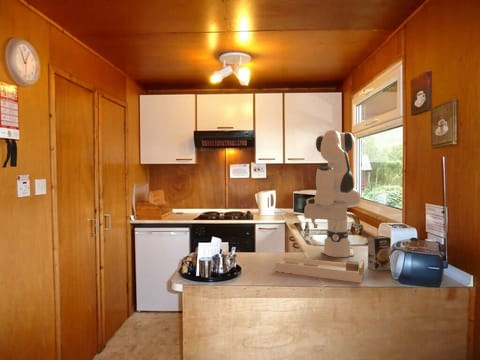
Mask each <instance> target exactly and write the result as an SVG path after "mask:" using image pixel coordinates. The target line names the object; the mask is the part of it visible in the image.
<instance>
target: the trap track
mask: <svg viewBox="0 0 480 360" xmlns="http://www.w3.org/2000/svg"><path fill="white" fill-rule="evenodd" d="M276 271H278V272H277V273H282V272H284V273H283V274H290V273H292V274H291V275H299V276H306V277H313V278H322V279H329V280H339V281H345V282H350V283H351V282H352V283H362V281H363V278H364V276H365V261H364V260H361V262H360V264H359V263H358V272H356V271H347V270H346V262H341V261H339V262H338V261H329V260H320V259H319V260H318V259H310V258H304V257H303V258H302V257H292V256H283V259H282V260H281V261H280V262H275V272H276Z"/></svg>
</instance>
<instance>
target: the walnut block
mask: <svg viewBox="0 0 480 360" xmlns="http://www.w3.org/2000/svg"><path fill="white" fill-rule="evenodd" d="M345 263H346V270H347V271H356V272H358V264H359V261H355V260H346V262H345Z"/></svg>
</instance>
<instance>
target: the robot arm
mask: <svg viewBox="0 0 480 360" xmlns="http://www.w3.org/2000/svg"><path fill="white" fill-rule="evenodd" d="M315 140H316V141H315V148H316V150H317V152H319V153H320V155H321V158H323V159H324V161H327V166H326V165H324V166H319V167H318V168H317V169H316V175H315V177H314V188H316V192H315V195H314V196H313V197H310V198H307V199H306V200H305V201H306V202H305V203H306V205H305V206H304V211H303V217H304V218H305V219H310V220H311V223H312V225H313V229H318V223H316V220H325V221H326V220H327V231H326V238H324V242H323V243H324V245H323V250H321V254H324V255H326V256H329V257H335V258H347V257H354V256H355V253H354V249H353V248H352V246H351V241H350V239H349V231H348V211H347V210H348V208H354V207H357V206H358V205H359V204H360V202H361V199H362V197H361V194H360V192H359V190H357V189H356V188H355V178H354V176H353V172H352V168H351V163H350V160H349V156H348V153H349V152H351V151H352V149H353V148H354V146H355V138H354V135H353V134H352V132H338V131H336V130H333V129H331V130H327V131H326V132H325V133H324V134H322V135H319V136H317V138H316V139H315Z"/></svg>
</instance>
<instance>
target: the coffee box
mask: <svg viewBox="0 0 480 360" xmlns="http://www.w3.org/2000/svg"><path fill="white" fill-rule="evenodd" d="M367 239H368V241H367V268H368V269H370V270H373V271H375V272H377V271H386V270H389V271H390V269H389V256H390V251H391V249H392V248H391V247H392V246H391V244H392V243H391V241H392V239H391V237H389V236H385V235H374V236H368V237H367ZM391 252H392V251H391Z"/></svg>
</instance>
